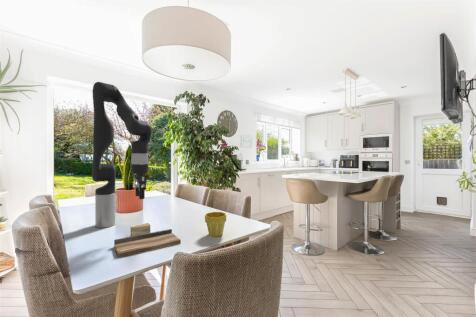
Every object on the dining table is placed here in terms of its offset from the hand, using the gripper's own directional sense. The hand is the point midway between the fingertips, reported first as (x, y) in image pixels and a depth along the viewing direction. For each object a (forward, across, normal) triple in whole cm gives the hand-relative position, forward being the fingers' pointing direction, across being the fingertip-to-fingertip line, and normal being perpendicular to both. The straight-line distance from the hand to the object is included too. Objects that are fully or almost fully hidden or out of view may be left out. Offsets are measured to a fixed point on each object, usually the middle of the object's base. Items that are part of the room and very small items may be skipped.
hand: (139, 197), depth 106 cm
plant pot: (+18, +18, +31) cm, 40 cm away
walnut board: (+18, +14, +1) cm, 23 cm away
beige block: (+18, 0, 0) cm, 18 cm away
